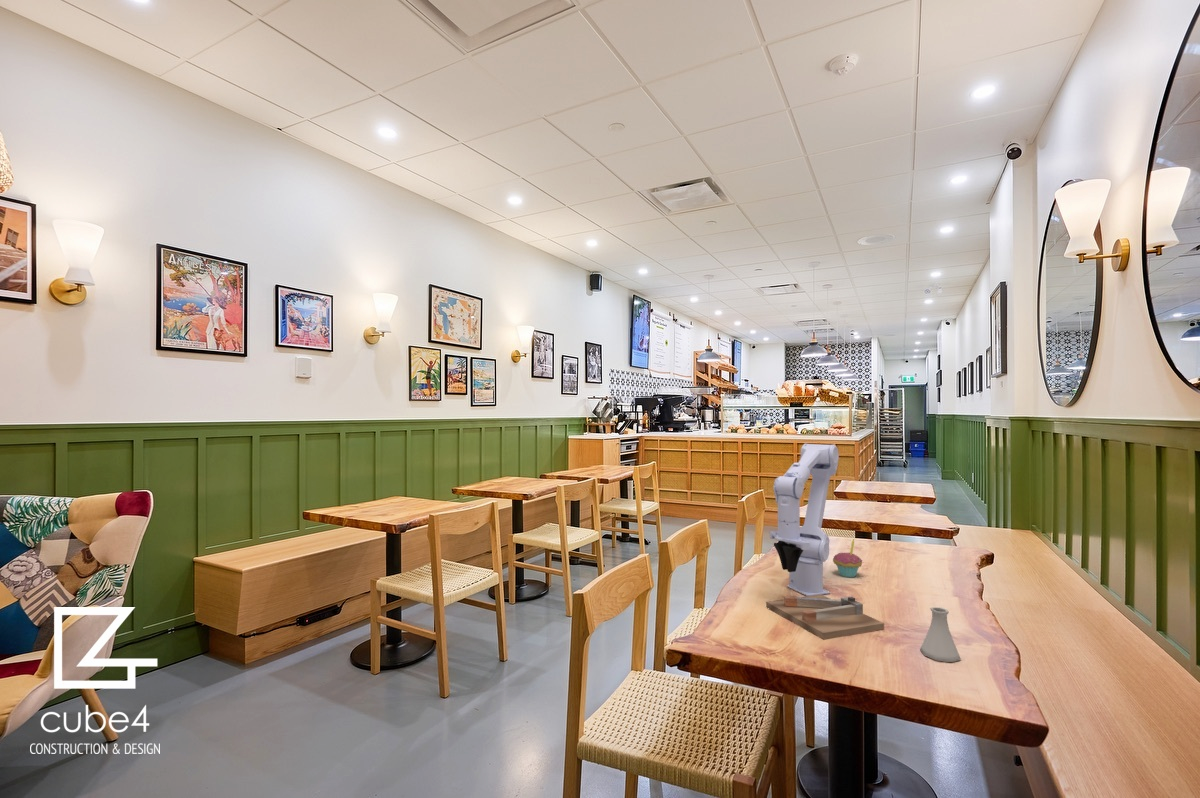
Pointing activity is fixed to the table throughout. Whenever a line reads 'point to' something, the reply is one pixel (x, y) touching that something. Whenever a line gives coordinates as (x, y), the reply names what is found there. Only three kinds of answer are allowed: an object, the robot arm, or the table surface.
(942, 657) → the flask
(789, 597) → the tong arm
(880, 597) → the table surface
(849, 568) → the cupcake
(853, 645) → the table surface
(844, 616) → the tongs board
